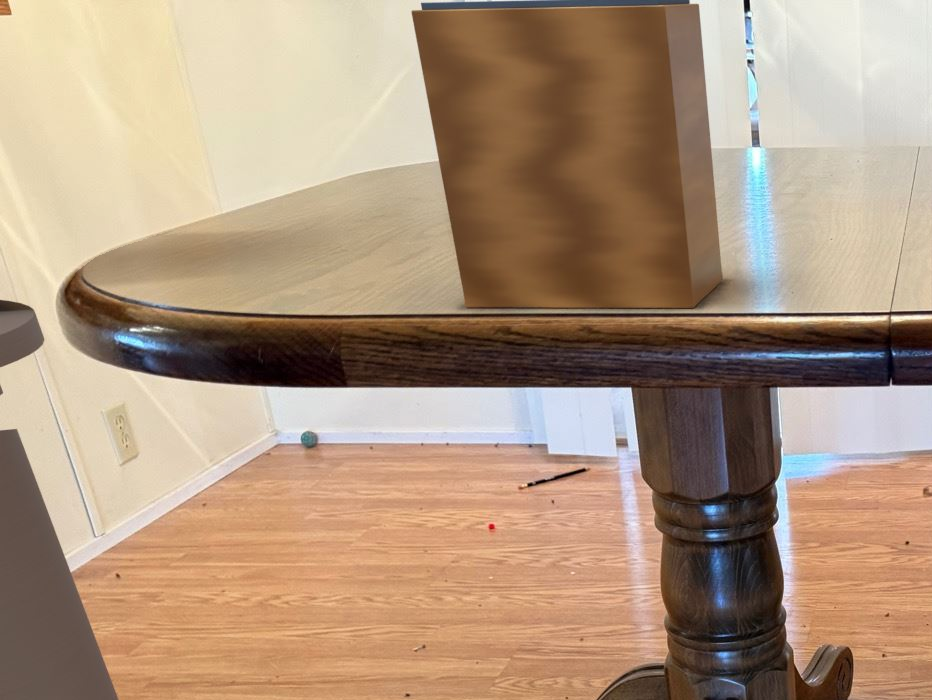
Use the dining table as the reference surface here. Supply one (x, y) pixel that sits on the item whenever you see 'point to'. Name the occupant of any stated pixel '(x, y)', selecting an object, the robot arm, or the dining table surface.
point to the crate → (574, 154)
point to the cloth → (544, 4)
